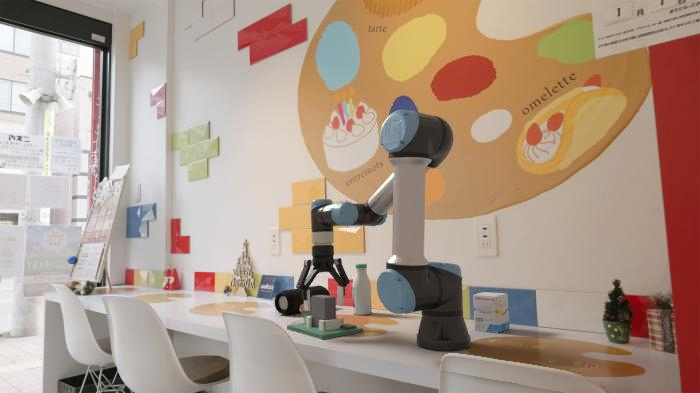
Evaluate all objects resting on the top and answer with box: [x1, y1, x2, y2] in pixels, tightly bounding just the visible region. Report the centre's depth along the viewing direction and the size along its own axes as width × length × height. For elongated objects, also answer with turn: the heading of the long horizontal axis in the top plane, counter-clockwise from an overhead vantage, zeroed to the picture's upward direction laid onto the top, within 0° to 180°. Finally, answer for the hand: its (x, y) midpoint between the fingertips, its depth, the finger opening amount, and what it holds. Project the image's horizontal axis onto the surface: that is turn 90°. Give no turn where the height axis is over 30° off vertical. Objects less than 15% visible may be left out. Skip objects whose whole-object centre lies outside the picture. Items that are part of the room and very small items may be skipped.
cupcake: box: [300, 289, 312, 321], centre depth 170 cm, size 9×8×12 cm
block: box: [312, 295, 337, 328], centre depth 152 cm, size 9×4×10 cm, turn 37°
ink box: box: [472, 291, 511, 334], centre depth 147 cm, size 9×8×12 cm
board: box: [286, 316, 364, 340], centre depth 151 cm, size 22×16×4 cm
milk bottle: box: [351, 263, 373, 316], centre depth 184 cm, size 8×8×20 cm
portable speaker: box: [274, 285, 331, 316], centre depth 192 cm, size 26×10×10 cm, turn 142°
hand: (324, 308), depth 151 cm, fingers open, 13 cm apart
